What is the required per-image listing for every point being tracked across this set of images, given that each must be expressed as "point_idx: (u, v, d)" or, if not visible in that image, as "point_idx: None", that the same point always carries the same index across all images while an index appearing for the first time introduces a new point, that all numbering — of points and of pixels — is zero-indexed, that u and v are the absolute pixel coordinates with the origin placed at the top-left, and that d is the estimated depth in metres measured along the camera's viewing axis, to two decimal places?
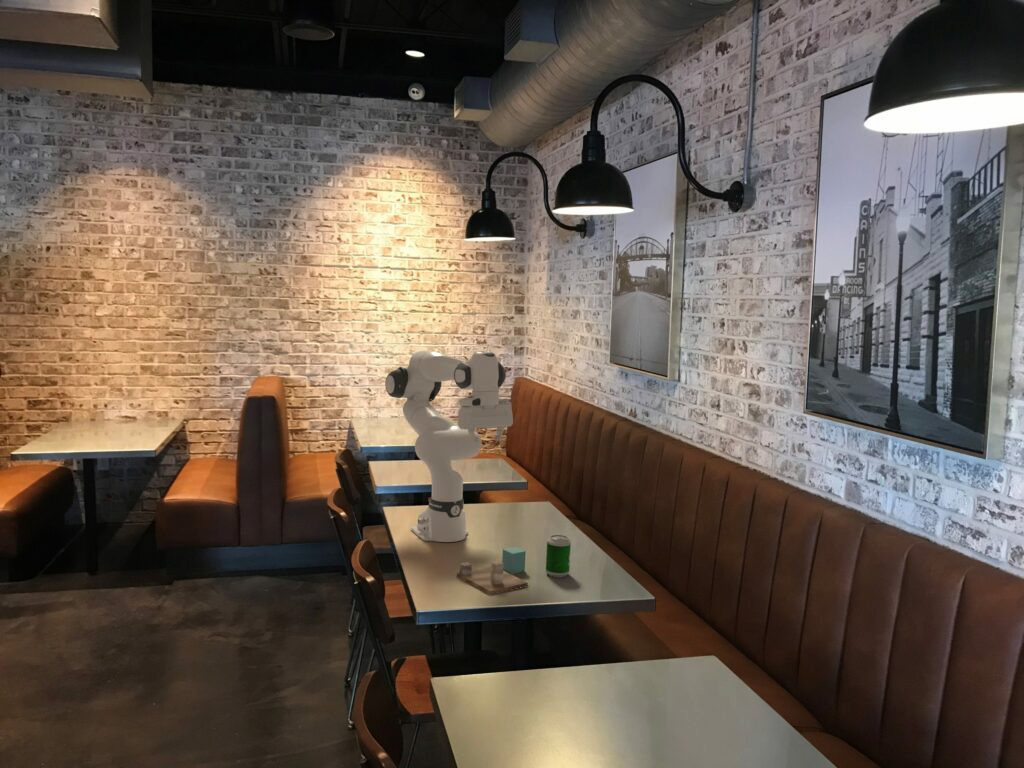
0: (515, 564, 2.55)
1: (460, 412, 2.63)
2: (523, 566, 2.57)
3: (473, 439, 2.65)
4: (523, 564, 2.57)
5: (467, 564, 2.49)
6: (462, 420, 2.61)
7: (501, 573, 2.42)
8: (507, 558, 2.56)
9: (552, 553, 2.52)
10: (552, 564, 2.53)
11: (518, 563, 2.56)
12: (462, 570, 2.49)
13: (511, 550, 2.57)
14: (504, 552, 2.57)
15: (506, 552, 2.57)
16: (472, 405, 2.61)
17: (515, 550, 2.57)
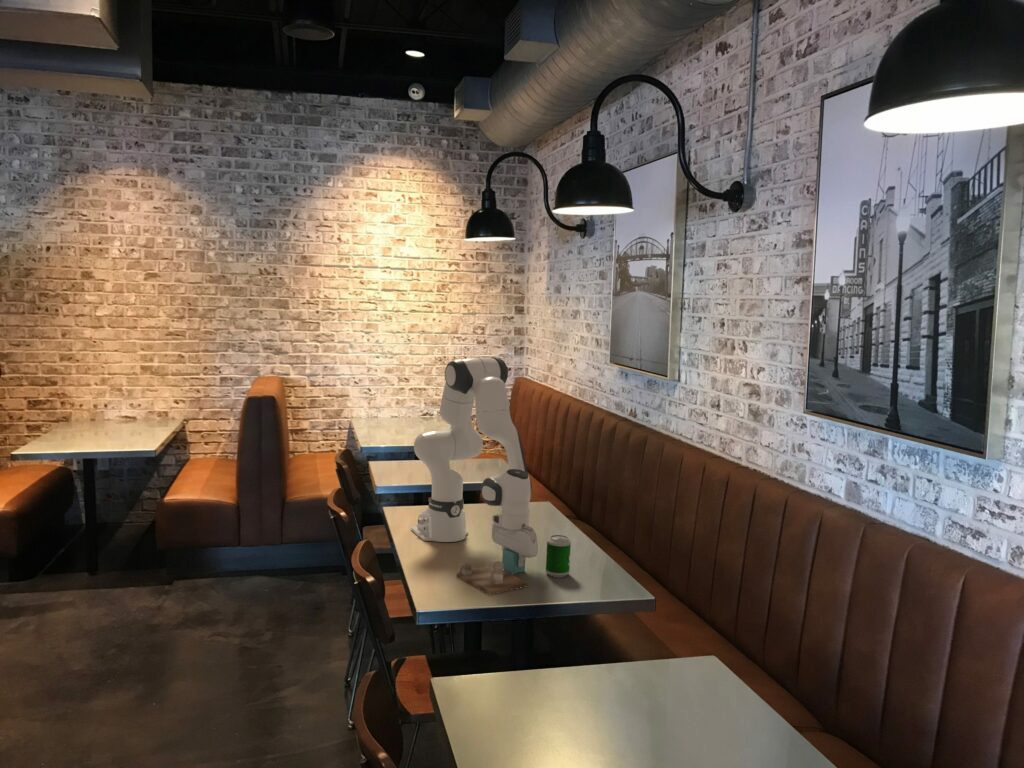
0: (515, 564, 2.55)
1: None
2: (523, 566, 2.57)
3: None
4: (523, 564, 2.57)
5: (467, 564, 2.49)
6: None
7: (501, 573, 2.42)
8: (507, 558, 2.56)
9: (552, 553, 2.52)
10: (552, 564, 2.53)
11: None
12: (462, 570, 2.49)
13: (511, 550, 2.57)
14: (504, 552, 2.57)
15: (506, 552, 2.57)
16: (493, 521, 2.61)
17: None
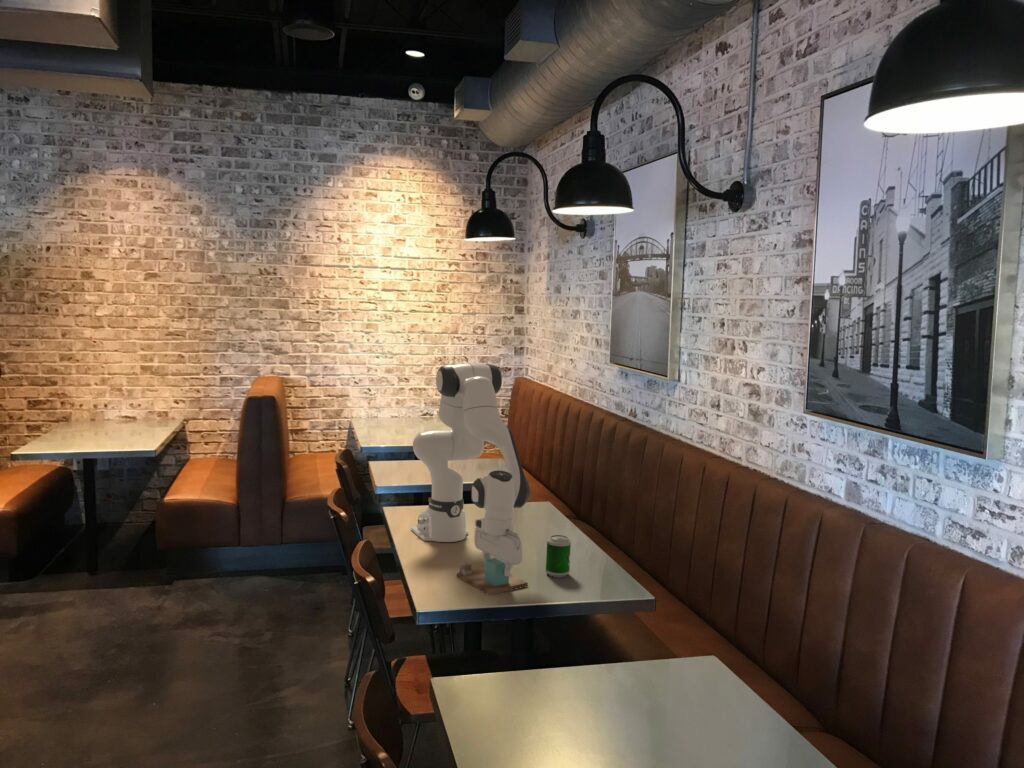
0: (499, 576, 2.40)
1: None
2: (507, 578, 2.42)
3: None
4: (507, 576, 2.42)
5: (467, 564, 2.49)
6: None
7: None
8: (490, 569, 2.41)
9: (552, 553, 2.52)
10: (552, 564, 2.53)
11: (501, 574, 2.41)
12: (462, 570, 2.49)
13: (494, 561, 2.42)
14: (487, 563, 2.43)
15: (489, 563, 2.42)
16: (476, 525, 2.46)
17: (499, 561, 2.42)
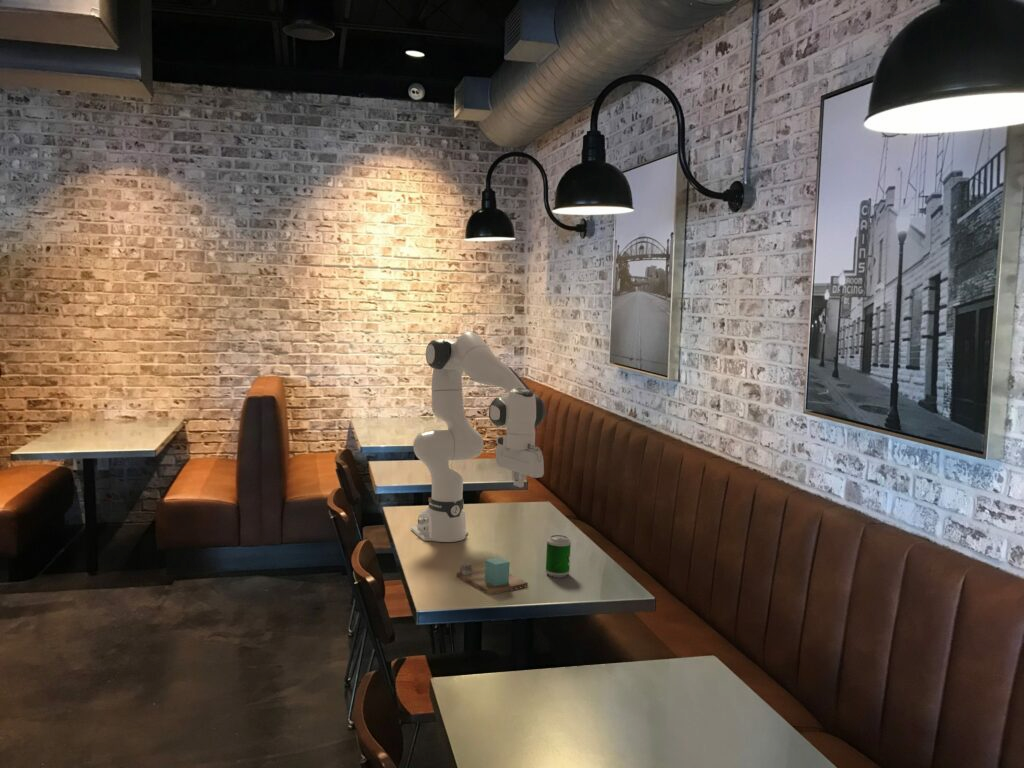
0: (499, 576, 2.40)
1: None
2: (507, 578, 2.42)
3: None
4: (507, 576, 2.42)
5: (467, 564, 2.49)
6: None
7: None
8: (490, 569, 2.41)
9: (552, 553, 2.52)
10: (552, 564, 2.53)
11: (501, 574, 2.41)
12: (462, 570, 2.49)
13: (494, 561, 2.42)
14: (487, 563, 2.43)
15: (489, 563, 2.42)
16: (497, 443, 2.51)
17: (499, 561, 2.42)
